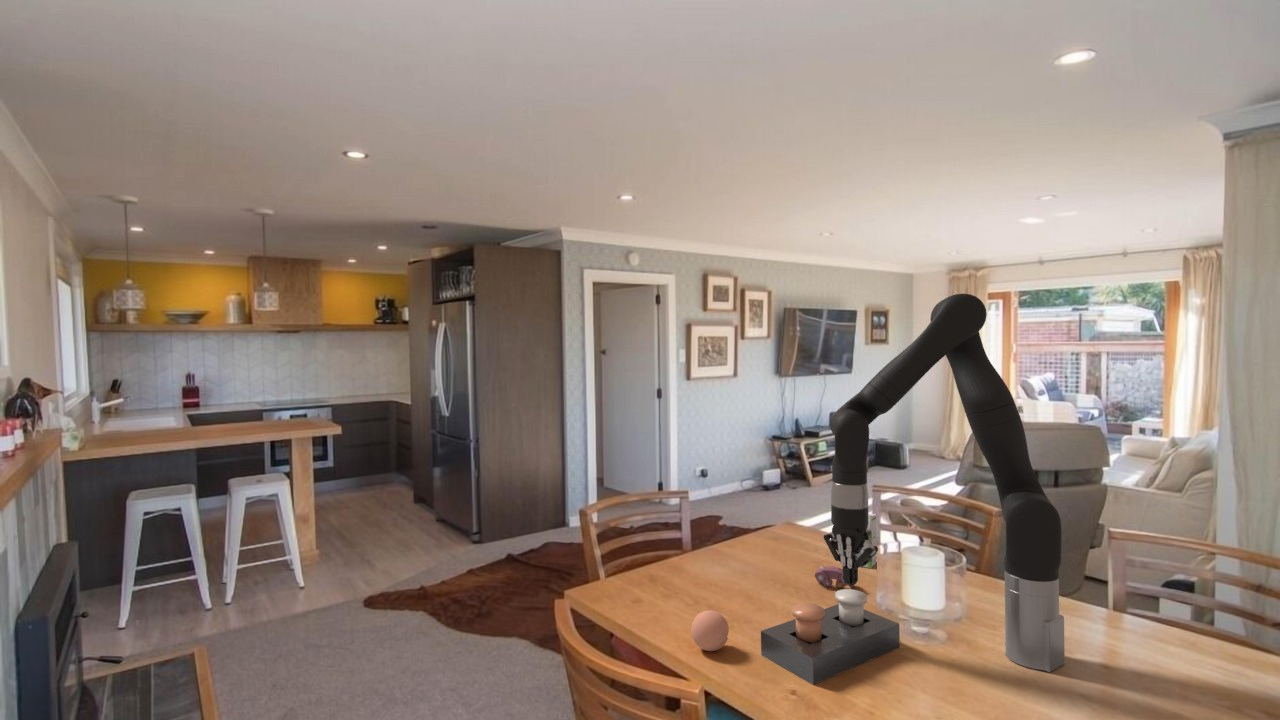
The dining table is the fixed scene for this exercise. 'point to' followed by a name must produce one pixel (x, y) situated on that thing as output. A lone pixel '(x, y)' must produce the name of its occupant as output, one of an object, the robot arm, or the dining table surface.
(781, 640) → the button panel
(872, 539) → the syrup box
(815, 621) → the terracotta button
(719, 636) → the toy ball
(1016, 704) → the dining table surface
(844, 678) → the dining table surface
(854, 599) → the grey button
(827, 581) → the video game controller
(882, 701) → the dining table surface
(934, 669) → the dining table surface
